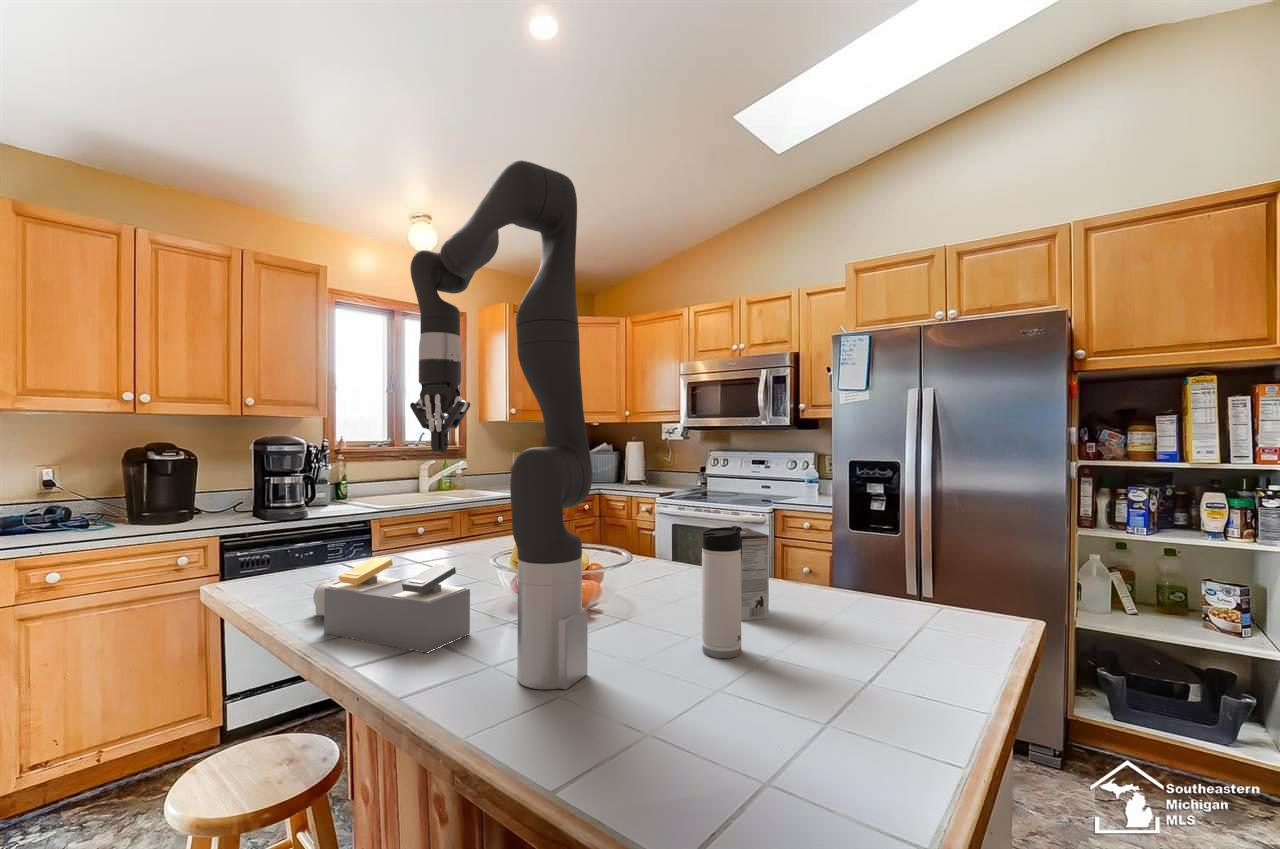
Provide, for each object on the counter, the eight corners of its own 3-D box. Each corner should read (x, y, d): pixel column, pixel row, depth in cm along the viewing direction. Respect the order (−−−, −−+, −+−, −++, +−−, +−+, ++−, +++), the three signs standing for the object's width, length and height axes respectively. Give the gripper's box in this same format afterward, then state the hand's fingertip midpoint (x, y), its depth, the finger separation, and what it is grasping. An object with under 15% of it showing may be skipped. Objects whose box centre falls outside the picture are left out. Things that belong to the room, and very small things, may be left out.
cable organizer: (301, 585, 113) (354, 589, 110) (349, 570, 125) (397, 573, 122) (301, 620, 113) (354, 625, 110) (349, 601, 125) (397, 606, 122)
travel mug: (750, 655, 94) (750, 529, 94) (714, 661, 91) (713, 531, 92) (730, 642, 99) (730, 523, 100) (695, 647, 97) (695, 526, 97)
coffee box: (719, 608, 120) (718, 528, 120) (747, 605, 122) (747, 527, 122) (739, 621, 111) (739, 535, 111) (770, 618, 113) (769, 533, 113)
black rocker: (456, 573, 104) (454, 565, 104) (422, 593, 97) (421, 585, 97) (436, 570, 106) (435, 563, 106) (402, 590, 99) (401, 582, 98)
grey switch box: (469, 634, 104) (469, 580, 104) (427, 653, 95) (428, 594, 95) (370, 617, 114) (371, 568, 114) (323, 633, 104) (324, 580, 105)
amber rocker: (392, 565, 110) (391, 558, 110) (357, 584, 103) (356, 577, 103) (375, 563, 112) (374, 556, 112) (339, 582, 105) (338, 575, 105)
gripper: (398, 359, 110) (397, 452, 109) (453, 354, 104) (453, 453, 104) (427, 363, 116) (427, 451, 116) (481, 360, 111) (481, 452, 111)
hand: (439, 452), depth 110 cm, fingers closed
